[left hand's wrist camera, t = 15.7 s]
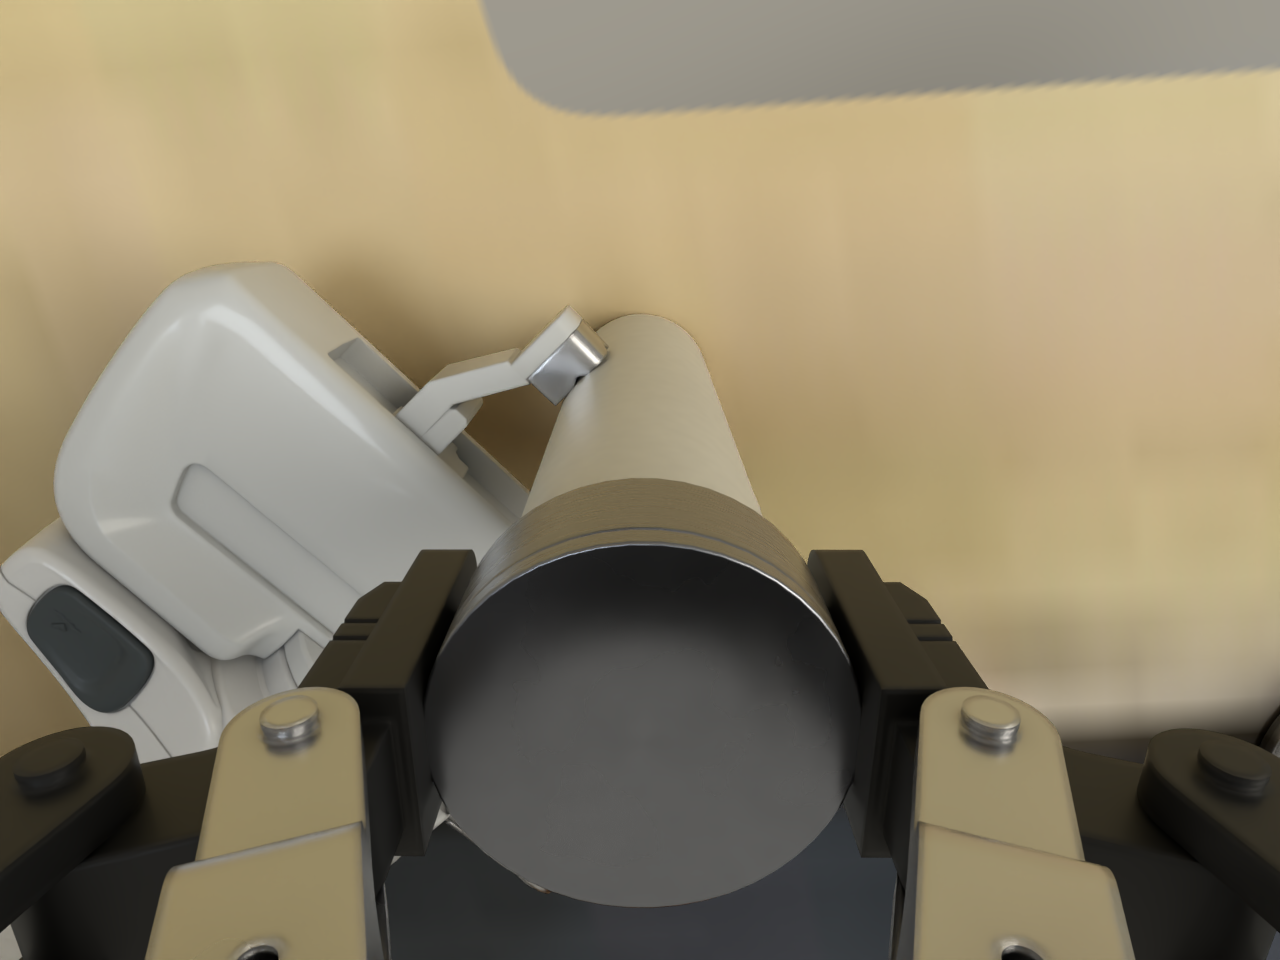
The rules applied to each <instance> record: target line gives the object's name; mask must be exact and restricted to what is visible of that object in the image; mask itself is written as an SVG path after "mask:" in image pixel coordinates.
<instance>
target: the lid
mask: <svg viewBox="0 0 1280 960" xmlns="http://www.w3.org/2000/svg"><path fill="white" fill-rule="evenodd" d="M423 706H424V717H425V727H426V736H427V745H428V754H429V763H430V770H431V777H432V780H433V782H434V785H435V787H436V789H437V792H438V794H439V796H440V798H441V800H442V801H443V803H444V805H445V806H446V808H447V810H448V811H449V813H450V815H451V816H452V818H453V819H454V820H455V822H456V823H457V824H458V825H459V826H460V828H461V829H462V830H463V831H464V833H465V834H466V835H467V836H468V837H469V838H470V839H471V840H472V841H473V842H474V843H475V844H476V845H477V846H478V847H479V848H480V849H481V850H482V851H483V852H485V853H486V854H487V855H488V856H490V857H491V858H492V859H494V860H495V861H496V862H498V863H499V864H500V865H502V866H503V867H504V868H506V869H507V870H509V871H511V872H513V873H514V874H516V875H518V876H520V877H521V878H523V879H525V880H527V881H528V882H531V883H533V884H535V885H538V886H540V887H542V888H544V889H547V890H549V891H551V892H554V893H557V894H561V895H564V896H567V897H570V898H573V899H576V900H581V901H586V902H591V903H595V904H600V905H608V906H618V907H627V908H657V907H668V906H679V905H685V904H690V903H695V902H700V901H705V900H709V899H712V898H715V897H719V896H722V895H725V894H729V893H732V892H734V891H736V890H739V889H741V888H744V887H746V886H748V885H751V884H753V883H755V882H757V881H759V880H761V879H762V878H764V877H766V876H768V875H770V874H771V873H773V872H775V871H777V870H778V869H779V868H781V867H782V866H784V865H785V864H786V863H788V862H789V861H791V860H792V859H794V858H795V857H796V856H797V855H799V854H800V853H801V852H802V851H803V850H804V849H805V848H806V847H807V846H808V845H810V844H811V843H812V842H813V841H814V840H815V839H816V838H817V837H818V835H819V834H820V833H821V832H822V831H823V830H824V828H825V827H826V826H827V825H828V824H829V822H830V821H831V820H832V818H833V817H834V815H835V814H836V812H837V810H838V809H839V807H840V806H841V804H842V803H843V801H844V799H845V797H846V795H847V793H848V790H849V788H850V786H851V784H852V782H853V779H854V772H855V765H856V756H857V747H858V739H859V730H860V721H861V711H862V699H861V694H860V689H859V683H858V680H857V677H856V675H855V672H854V669H853V666H852V664H851V661H850V658H849V656H848V654H847V652H846V649H845V647H844V645H843V643H842V640H841V638H840V636H839V633H838V631H837V629H836V627H835V624H834V622H833V620H832V618H831V615H830V613H829V611H828V609H827V606H826V604H825V602H824V600H823V597H822V595H821V593H820V590H819V588H818V586H817V584H816V581H815V579H814V577H813V576H812V574H811V572H810V570H809V568H808V566H807V565H806V563H805V561H804V559H803V558H802V557H801V555H800V554H799V553H798V551H797V550H796V549H795V547H794V546H793V545H792V543H791V542H790V541H789V540H788V539H787V538H786V537H785V536H784V535H783V534H782V533H781V532H780V531H779V530H778V529H777V528H776V527H775V526H774V525H773V524H772V523H770V522H769V521H768V520H766V519H765V518H764V517H762V516H761V515H760V514H758V513H757V512H756V511H754V510H753V509H751V508H749V507H748V506H746V505H744V504H742V503H740V502H739V501H737V500H735V499H733V498H731V497H729V496H726V495H724V494H721V493H719V492H716V491H714V490H711V489H709V488H705V487H702V486H698V485H694V484H690V483H686V482H682V481H674V480H667V479H659V478H627V479H619V480H610V481H603V482H599V483H595V484H591V485H587V486H583V487H579V488H577V489H574V490H571V491H569V492H566V493H563V494H561V495H558V496H556V497H554V498H552V499H550V500H548V501H547V502H545V503H543V504H541V505H539V506H537V507H535V508H534V509H532V510H531V511H530V512H528V513H527V514H525V515H524V516H523V517H521V518H520V519H518V520H517V521H516V522H514V523H513V524H512V525H511V526H510V527H509V528H508V529H507V530H506V531H505V532H504V533H503V534H502V535H501V536H500V537H499V538H498V539H497V540H496V541H495V542H494V544H493V545H492V546H491V547H490V549H489V550H488V551H487V553H486V554H485V555H484V556H483V558H482V560H481V561H480V563H479V565H478V567H477V568H476V570H475V572H474V574H473V575H472V577H471V579H470V582H469V584H468V586H467V589H466V591H465V593H464V595H463V598H462V600H461V602H460V605H459V607H458V609H457V611H456V614H455V616H454V618H453V621H452V623H451V625H450V628H449V630H448V632H447V634H446V637H445V639H444V641H443V644H442V646H441V648H440V650H439V653H438V655H437V657H436V660H435V663H434V665H433V668H432V670H431V673H430V675H429V678H428V682H427V687H426V691H425V696H424V703H423Z"/></svg>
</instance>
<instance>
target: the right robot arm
mask: <svg viewBox="0 0 1280 960" xmlns="http://www.w3.org/2000/svg"><path fill="white" fill-rule="evenodd" d="M608 348H609V346H608V345H607V344H606V343H605V342H604V341H603V340H602V338H601V337H600V336H599V335H598V334H597V333H596V332H595V331H594V330H593V329H592V328H591V327H590V326H589V325H588V324H587V323H586V321H585V320H584V319H582V317H581V316H580V315H579V314H578V313H577V312H576V311H575V310H574V309H573V308H572V307H571V306H570V305H569V304H568V305H567V306H566V307H565V308H564V309H563V310H561V311H560V312H559V313H558V314H557V315H556V316H555V317H554V318H553V319H552V320H551V321H550V322H549V323H548V324H547V325H546V326H545V327H544V328H543V329H542V330H541V331H540V332H539V333H538V334H537V335H536V336H535V337H534V338H533V339H532V340H531V341H530V342H529V343H528V345H527V346H526V347H525V348H524V349H523V350H522V351H521V350H520V349H519V348H518V347H517V348H513V349H509V350H505V351H501V352H497V353H493V354H488V355H484V356H480V357H476V358H472V359H468V360H464V361H460V362H456V363H452V364H448V365H447V366H445V367H444V368H443V369H442V370H441V371H440V372H439V373H438V374H437V375H435V376H434V377H433V378H432V379H431V380H430V381H429V382H428V383H427V384H426V385H425V386H424V387H423V388H422V389H421V390H420V389H419V388H418V387H417V386H416V385H415V384H414V383H413V382H412V381H411V380H409V379H408V378H407V377H406V376H405V375H404V374H403V373H402V372H401V371H400V370H399V369H398V368H397V367H395V366H394V365H393V364H392V363H391V362H390V361H389V360H388V359H387V358H386V357H385V356H384V355H382V354H381V353H380V352H379V351H378V350H377V349H376V348H375V347H374V346H373V345H372V344H371V343H370V342H368V341H367V340H366V339H365V338H364V337H363V336H362V335H361V334H360V333H359V332H358V331H357V330H356V329H354V328H353V327H352V326H351V325H350V324H349V323H348V322H347V321H346V320H345V319H344V318H343V317H342V316H340V315H339V314H338V313H337V312H336V311H335V310H334V309H333V308H332V307H331V306H330V305H329V304H328V303H326V302H325V301H324V300H323V299H322V298H321V297H320V296H319V295H318V294H317V293H316V292H315V291H314V290H313V289H311V288H310V287H309V286H308V285H307V284H306V283H305V282H304V281H303V280H302V279H301V278H300V277H299V276H298V275H297V274H295V273H294V272H293V271H292V270H291V269H289V268H288V267H286V266H285V265H283V264H280V263H277V262H235V263H224V264H218V265H212V266H208V267H204V268H200V269H197V270H195V271H192V272H189V273H187V274H185V275H183V276H181V277H180V278H178V279H176V280H175V281H174V282H172V283H171V284H170V285H169V286H167V287H166V288H165V289H164V290H163V291H162V292H161V293H160V295H159V296H158V297H157V298H156V299H155V300H154V302H153V303H152V304H151V305H150V306H149V307H148V309H147V310H146V311H145V312H144V314H143V315H142V316H141V318H140V319H139V320H138V321H137V323H136V324H135V325H134V327H133V328H132V329H131V331H130V332H129V334H128V335H127V336H126V338H125V339H124V341H123V342H122V343H121V345H120V346H119V348H118V349H117V350H116V352H115V353H114V355H113V356H112V358H111V359H110V361H109V362H108V364H107V365H106V367H105V368H104V370H103V372H102V373H101V375H100V376H99V378H98V380H97V381H96V383H95V385H94V386H93V388H92V389H91V391H90V393H89V394H88V396H87V398H86V399H85V401H84V403H83V405H82V407H81V408H80V410H79V412H78V414H77V416H76V417H75V419H74V421H73V423H72V425H71V427H70V428H69V430H68V432H67V434H66V436H65V438H64V441H63V443H62V446H61V448H60V451H59V454H58V457H57V461H56V465H55V471H54V482H53V484H54V497H55V502H56V506H57V510H58V513H59V515H60V517H59V518H57V519H56V520H54V521H53V522H52V523H50V524H49V525H47V526H46V527H45V528H43V529H42V530H41V531H39V532H38V533H37V534H36V535H35V536H33V537H32V538H31V539H30V540H28V541H27V542H26V543H25V544H24V545H22V546H21V547H20V548H19V549H18V550H16V551H15V552H14V553H13V554H12V555H11V556H10V557H8V559H7V560H6V561H5V562H4V563H3V564H2V565H1V566H0V611H1V613H2V614H3V615H4V617H5V618H6V619H7V621H8V622H9V623H10V624H11V625H12V627H13V628H14V629H15V630H16V631H17V633H18V634H19V635H20V636H21V637H22V638H23V640H24V641H25V642H26V643H27V644H28V645H29V647H30V648H31V649H32V650H33V651H34V652H35V654H36V655H37V656H38V657H39V658H40V660H41V661H42V662H43V663H44V665H45V666H46V667H47V668H48V669H49V671H50V672H51V673H52V674H53V676H54V677H55V678H56V679H57V681H58V682H59V683H60V684H61V686H62V687H63V688H64V690H65V691H66V692H67V693H68V695H69V696H70V697H71V699H72V700H73V702H74V703H75V704H76V706H77V707H78V708H79V710H80V711H81V713H82V714H83V715H84V717H85V718H86V720H87V721H88V723H89V724H90V726H104V727H113V728H116V729H120V730H122V731H124V732H126V733H128V734H129V735H130V736H131V737H132V739H133V741H134V743H135V747H136V751H137V754H138V758H139V762H140V764H141V763H146V762H151V761H156V760H161V759H166V758H170V757H175V756H180V755H185V754H190V753H195V752H200V751H204V750H208V749H212V748H216V747H218V744H219V739H220V736H221V733H222V731H223V730H224V728H225V727H226V725H227V724H228V723H229V722H230V721H231V719H232V718H233V717H235V716H236V715H237V714H238V713H239V712H241V711H242V710H244V709H245V708H247V707H248V706H250V705H251V704H253V703H255V702H257V701H259V700H261V699H264V698H266V697H268V696H271V695H274V694H277V693H280V692H283V691H287V690H292V689H297V688H298V686H299V685H300V683H301V682H302V680H303V679H304V677H305V676H306V674H307V673H308V672H309V670H310V669H311V667H312V666H313V664H314V663H315V661H316V660H317V658H318V657H319V655H320V654H321V653H322V651H323V650H324V648H325V647H326V645H327V644H328V642H329V641H330V640H333V635H334V634H335V632H336V631H337V629H338V628H339V626H340V625H341V623H344V619H345V617H346V616H347V615H348V613H349V612H350V610H351V609H352V607H353V606H354V604H355V603H356V601H357V600H358V599H359V598H360V597H362V596H363V595H365V594H366V593H368V592H369V591H371V590H372V589H374V588H375V587H377V586H378V585H380V584H382V583H383V582H402V580H403V579H404V577H405V575H406V574H407V572H408V570H409V569H410V567H411V565H412V564H413V562H414V560H415V559H416V557H417V555H418V554H419V552H420V551H421V550H422V549H472V550H473V551H474V553H475V557H476V562H477V567H478V565H479V563H480V561H481V560H482V558H483V556H484V555H485V554H486V553H487V551H488V550H489V549H490V547H491V546H492V545H493V544H494V542H495V541H496V540H497V539H498V538H499V537H500V536H501V535H502V534H503V533H504V532H505V531H506V530H507V529H508V528H509V527H510V526H511V525H512V524H513V523H514V522H516V521H517V520H518V519H520V518H521V516H522V514H523V511H524V508H525V505H526V503H527V500H528V497H529V494H530V491H529V490H528V489H527V488H526V487H525V486H524V485H523V484H521V483H520V482H519V481H518V480H517V479H516V478H515V477H514V476H513V475H512V474H511V473H510V472H509V471H507V470H506V469H505V468H504V467H503V466H502V465H501V464H500V463H499V462H498V461H497V460H496V459H495V458H493V457H492V456H491V455H490V454H489V453H488V452H487V451H486V450H485V449H484V448H483V447H482V446H481V445H479V444H478V443H477V442H476V441H475V440H474V439H473V438H472V437H471V436H470V435H469V434H468V433H467V432H465V431H464V429H465V428H466V426H467V425H468V424H469V423H470V421H471V420H472V419H473V417H474V416H475V414H476V413H477V412H478V410H479V409H480V408H481V406H482V405H483V399H482V398H481V397H484V396H487V395H491V394H495V393H499V392H503V391H506V390H510V389H514V388H518V387H521V386H525V385H529V384H530V383H531V384H532V385H533V386H534V387H536V388H537V389H538V390H539V391H540V392H541V393H542V394H543V395H544V396H545V397H546V398H547V399H548V400H549V401H551V402H552V403H553V404H554V405H555V406H556V405H557V404H558V403H559V402H560V401H561V400H562V399H563V398H564V397H565V396H566V395H567V394H569V393H570V391H571V390H572V389H573V388H574V387H575V384H576V381H577V377H579V376H585V375H587V374H589V373H590V372H591V371H592V370H593V369H594V368H595V367H596V366H597V365H598V364H599V363H600V362H601V361H602V360H603V359H604V357H605V356H606V355H607V353H608V351H607V349H608ZM755 497H756V496H755ZM756 500H757V499H756ZM757 503H758V501H757ZM758 506H759V504H758ZM759 508H760V506H759ZM760 510H761V509H760ZM443 821H444V822H445V823H446V824H447V825H449V826H450V827H451V828H453V829H454V830H455V831H457V832H458V833H459V834H461V835H462V836H463V837H465V838H466V839H467V840H469V841H470V842H471V843H472V844H474V845H475V846H477V845H476V844H475V843H474V842H473V841H472V840H471V839H470V838H469V837H468V836H467V835H466V834H465V833H464V831H463V830H462V829H461V828H460V826H459V825H458V824H457V823H456V822H455V820H454V819H453V818H452V816H451V815H450V813H449V811H448V810H447V808H446V806H445V805H444V803H443V801H442V803H441V806H440V809H439V812H438V815H437V819H436V822H435V825H434V828H433V830H434V829H435V828H436V827H437V826H439V825H440V824H441V823H442V822H443ZM477 847H478V846H477ZM400 857H401V856H394V858H393V861H392V863H391V865H392V864H393V863H394V862H395V861H397V860H398V859H399V858H400ZM515 875H516V874H515ZM516 876H517V877H518V878H519V879H520V880H521V881H522V882H524V883H525V884H527V885H528V886H529V887H531V888H533V889H535V890H537V891H539V892H542V893H545V894H549V893H550V892H551V891H549V890H547V889H544V888H542V887H540V886H538V885H535V884H533V883H531V882H528V881H527V880H525V879H523V878H521V877H520V876H518V875H516ZM21 957H22V955H21V952H20V949H19V946H18V944H17V941H16V938H15V935H14V933H13V930H12V927H11V925H9V926H8V927H7V928H6V929H4V930H3V931H2V932H1V933H0V960H19V959H20V958H21Z"/></svg>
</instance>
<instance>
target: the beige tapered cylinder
mask: <svg viewBox="0 0 1280 960" xmlns="http://www.w3.org/2000/svg"><path fill="white" fill-rule="evenodd" d="M596 333H597V334H598V335H599V336H600V337H601V338H602V340H603V341H604V342H605V343H606V344H607V345H608V346H609V348H608V349H607V351H608V353H607V355H606V356H605V357H604V359H603V360H602V361H601V362H600V363H599V364H598V365H597V366H596V367H595V368H594V369H593V370H592V371H591V372H590V373H589V374H587V375H585V376H579V377H577V381H576V384H575V387H574V388H573V389H572V390H571V391H570V393H569V394H567V395H566V396H565V398H564V401H563V403H562V406H561V409H560V412H559V414H558V417H557V420H556V423H555V425H554V428H553V431H552V434H551V437H550V439H549V442H548V445H547V448H546V450H545V453H544V456H543V459H542V461H541V464H540V467H539V470H538V472H537V475H536V478H535V481H534V483H533V486H532V489H531V492H530V494H529V497H528V500H527V503H526V505H525V508H524V511H523V514H522V516H521V517H523V516H524V515H525V514H527V513H528V512H530V511H531V510H532V509H534V508H535V507H537V506H539V505H541V504H543V503H545V502H547V501H548V500H550V499H552V498H554V497H556V496H558V495H561V494H563V493H566V492H569V491H571V490H574V489H577V488H579V487H583V486H587V485H591V484H595V483H599V482H603V481H610V480H619V479H627V478H659V479H667V480H674V481H682V482H686V483H690V484H694V485H698V486H702V487H705V488H709V489H711V490H714V491H716V492H719V493H721V494H724V495H726V496H729V497H731V498H733V499H735V500H737V501H739V502H740V503H742V504H744V505H746V506H748V507H749V508H751V509H753V510H754V511H756V512H757V513H758V514H760V515H761V516H762V514H761V511H760V508H759V506H758V503H757V500H756V497H755V495H754V492H753V489H752V487H751V484H750V481H749V479H748V476H747V473H746V471H745V468H744V465H743V463H742V460H741V457H740V455H739V452H738V449H737V447H736V444H735V441H734V439H733V436H732V433H731V430H730V428H729V425H728V422H727V420H726V417H725V414H724V412H723V409H722V406H721V404H720V401H719V398H718V396H717V393H716V390H715V388H714V385H713V382H712V380H711V377H710V374H709V372H708V369H707V366H706V363H705V361H704V358H703V355H702V353H701V351H700V349H699V347H698V345H697V344H696V342H695V341H694V339H693V338H692V337H691V336H690V335H689V334H688V333H687V332H686V331H685V330H684V329H683V328H682V327H680V326H679V325H677V324H676V323H674V322H672V321H670V320H668V319H666V318H663V317H660V316H656V315H650V314H632V315H627V316H623V317H620V318H617V319H614V320H612V321H611V322H609V323H607V324H605V325H604V326H602V327H601V328H600V329H599V330H597V331H596ZM762 517H763V516H762Z"/></svg>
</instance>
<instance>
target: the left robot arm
mask: <svg viewBox="0 0 1280 960" xmlns="http://www.w3.org/2000/svg"><path fill="white" fill-rule="evenodd" d="M807 566H808V568H809V570H810V572H811V574H812V576H813V577H814V579H815V581H816V584H817V586H818V588H819V590H820V593H821V595H822V597H823V600H824V602H825V604H826V606H827V609H828V611H829V613H830V615H831V618H832V620H833V622H834V624H835V627H836V629H837V631H838V633H839V636H840V638H841V640H842V643H843V645H844V647H845V649H846V652H847V654H848V656H849V658H850V661H851V664H852V666H853V669H854V672H855V675H856V677H857V680H858V683H859V689H860V694H861V699H862V711H861V721H860V730H859V739H858V747H857V756H856V765H855V772H854V779H853V782H852V784H851V786H850V788H849V790H848V793H847V795H846V797H845V799H844V801H843V804H844V807H845V810H846V813H847V816H848V819H849V822H850V825H851V828H852V831H853V834H854V837H855V840H856V843H857V846H858V850H859V853H860V856H861V857H882V858H892V859H893V862H894V865H895V867H896V870H897V877H896V884H895V891H894V898H893V907H892V920H891V932H890V945H889V957H888V960H1266V958H1267V955H1268V952H1269V949H1270V947H1271V944H1272V941H1273V939H1274V936H1275V933H1276V931H1278V932H1279V933H1280V715H1279V716H1278V717H1277V718H1276V719H1275V721H1274V722H1273V724H1272V725H1271V726H1270V728H1269V729H1268V731H1267V733H1266V734H1265V736H1264V738H1263V740H1262V742H1261V744H1260V746H1259V747H1258V746H1256V745H1253V744H1251V743H1249V742H1246V741H1243V740H1241V739H1238V738H1235V737H1232V736H1228V735H1225V734H1221V733H1217V732H1212V731H1207V730H1200V729H1172V730H1168V731H1164V732H1161V733H1159V734H1157V735H1156V736H1155V737H1154V738H1153V739H1152V740H1151V741H1150V743H1149V746H1148V749H1147V753H1146V757H1145V761H1144V764H1139V763H1134V762H1129V761H1124V760H1119V759H1114V758H1110V757H1105V756H1100V755H1095V754H1090V753H1085V752H1081V751H1077V750H1073V749H1070V748H1067V747H1064V746H1062V744H1061V739H1060V736H1059V733H1058V731H1057V730H1056V728H1055V727H1054V725H1053V724H1052V723H1051V722H1050V721H1049V719H1048V718H1047V717H1045V716H1044V715H1043V714H1042V713H1041V712H1039V711H1038V710H1036V709H1035V708H1033V707H1032V706H1030V705H1029V704H1027V703H1025V702H1023V701H1021V700H1019V699H1016V698H1014V697H1012V696H1009V695H1006V694H1003V693H1000V692H997V691H993V690H989V689H988V687H987V686H986V685H985V683H984V682H983V680H982V679H981V677H980V676H979V674H978V673H977V672H976V670H975V669H974V667H973V666H972V664H971V663H970V661H969V660H968V659H967V657H966V656H965V654H964V653H963V651H962V650H961V649H960V647H959V646H958V644H957V643H956V641H953V640H952V636H951V634H950V633H949V631H948V630H947V628H946V627H945V625H944V624H941V620H940V618H939V617H938V615H937V614H936V613H935V611H934V610H933V608H932V607H931V605H930V604H929V602H928V601H927V600H926V599H925V598H923V597H922V596H920V595H919V594H917V593H916V592H914V591H913V590H911V589H910V588H908V587H907V586H905V585H904V584H902V583H900V582H883V581H882V580H881V578H880V576H879V575H878V573H877V571H876V570H875V568H874V567H873V565H872V563H871V562H870V560H869V558H868V557H867V555H866V554H865V552H864V551H863V550H812V551H811V552H810V554H809V558H808V563H807ZM476 568H477V562H476V557H475V553H474V551H473V550H472V549H422V550H421V551H420V552H419V554H418V555H417V557H416V559H415V560H414V562H413V564H412V565H411V567H410V569H409V570H408V572H407V574H406V575H405V577H404V579H403V580H402V582H383V583H382V584H380V585H378V586H377V587H375V588H374V589H372V590H371V591H369V592H368V593H366V594H365V595H363V596H362V597H360V598H359V599H358V600H357V601H356V603H355V604H354V606H353V607H352V609H351V610H350V612H349V613H348V615H347V616H346V617H345V619H344V623H341V625H340V626H339V628H338V629H337V631H336V632H335V634H334V635H333V640H330V641H329V642H328V644H327V645H326V647H325V648H324V650H323V651H322V653H321V654H320V655H319V657H318V658H317V660H316V661H315V663H314V664H313V666H312V667H311V669H310V670H309V672H308V673H307V674H306V676H305V677H304V679H303V680H302V682H301V683H300V685H299V686H298V688H297V689H292V690H287V691H283V692H280V693H277V694H274V695H271V696H268V697H266V698H264V699H261V700H259V701H257V702H255V703H253V704H251V705H250V706H248V707H247V708H245V709H244V710H242V711H241V712H239V713H238V714H237V715H236V716H235V717H233V718H232V719H231V721H230V722H229V723H228V724H227V725H226V727H225V728H224V730H223V731H222V733H221V736H220V739H219V744H218V747H216V748H212V749H208V750H204V751H200V752H195V753H190V754H185V755H180V756H175V757H170V758H166V759H161V760H156V761H151V762H146V763H141V764H140V762H139V758H138V754H137V751H136V747H135V743H134V741H133V739H132V737H131V736H130V735H129V734H128V733H126V732H124V731H122V730H120V729H116V728H113V727H104V726H90V727H81V728H75V729H70V730H65V731H61V732H58V733H54V734H50V735H48V736H45V737H42V738H39V739H36V740H34V741H32V742H29V743H27V744H25V745H23V746H21V747H19V748H17V749H15V750H13V751H11V752H9V753H8V754H6V755H4V756H3V757H1V758H0V933H1V932H2V931H3V930H4V929H6V928H7V927H8V926H9V925H11V927H12V930H13V933H14V935H15V938H16V941H17V944H18V946H19V949H20V952H21V955H22V957H21V958H20V959H19V960H392V957H391V945H390V932H389V919H388V907H387V898H386V891H385V884H384V882H385V880H386V877H387V874H388V872H389V869H390V866H391V863H392V861H393V858H394V856H425V853H426V850H427V847H428V843H429V840H430V837H431V834H432V831H433V828H434V825H435V822H436V819H437V815H438V812H439V809H440V806H441V803H442V800H441V798H440V796H439V794H438V792H437V789H436V787H435V785H434V782H433V780H432V777H431V770H430V763H429V754H428V745H427V736H426V727H425V717H424V706H423V703H424V696H425V691H426V687H427V682H428V678H429V675H430V673H431V670H432V668H433V665H434V663H435V660H436V657H437V655H438V653H439V650H440V648H441V646H442V644H443V641H444V639H445V637H446V634H447V632H448V630H449V628H450V625H451V623H452V621H453V618H454V616H455V614H456V611H457V609H458V607H459V605H460V602H461V600H462V598H463V595H464V593H465V591H466V589H467V586H468V584H469V582H470V579H471V577H472V575H473V574H474V572H475V570H476Z"/></svg>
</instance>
